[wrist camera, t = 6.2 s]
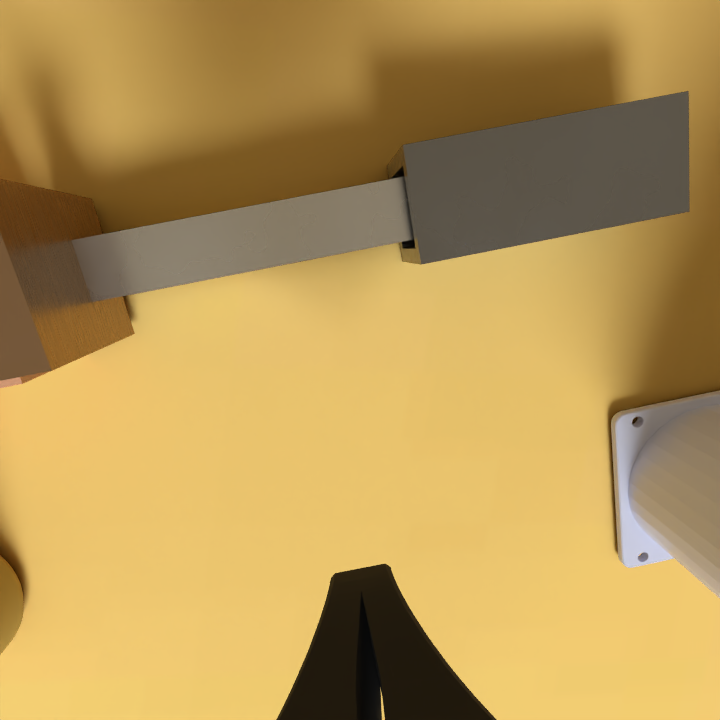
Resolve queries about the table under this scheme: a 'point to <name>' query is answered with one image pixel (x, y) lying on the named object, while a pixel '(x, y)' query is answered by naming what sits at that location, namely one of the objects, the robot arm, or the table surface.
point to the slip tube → (156, 259)
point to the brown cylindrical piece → (9, 604)
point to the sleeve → (545, 178)
